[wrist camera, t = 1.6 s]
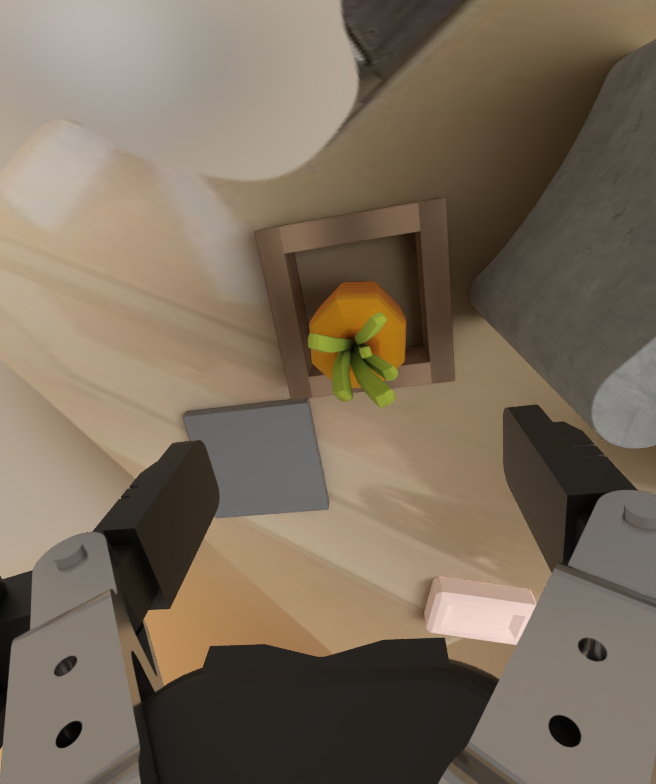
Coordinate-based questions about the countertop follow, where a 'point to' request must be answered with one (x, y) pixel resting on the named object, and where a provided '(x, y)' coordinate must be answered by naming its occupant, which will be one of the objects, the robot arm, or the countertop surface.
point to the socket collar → (286, 239)
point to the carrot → (359, 340)
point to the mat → (262, 457)
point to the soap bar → (478, 610)
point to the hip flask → (591, 265)
